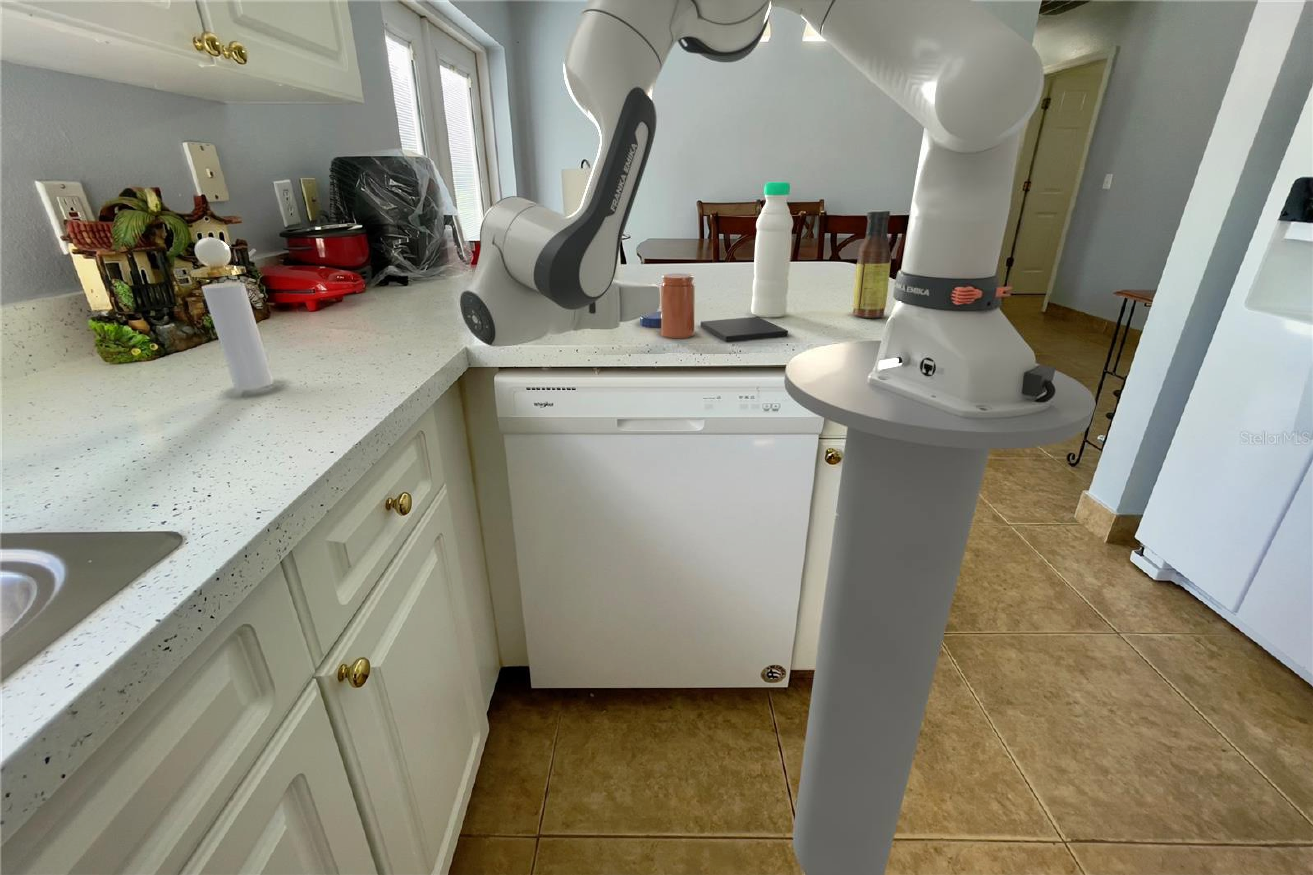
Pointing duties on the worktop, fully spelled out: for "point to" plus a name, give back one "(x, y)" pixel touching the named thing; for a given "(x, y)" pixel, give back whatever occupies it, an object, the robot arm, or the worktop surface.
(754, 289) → the water bottle
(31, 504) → the worktop surface
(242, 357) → the perfume bottle
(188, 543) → the worktop surface
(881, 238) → the sauce bottle
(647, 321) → the lid
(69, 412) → the worktop surface
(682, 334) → the jar
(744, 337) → the coaster
